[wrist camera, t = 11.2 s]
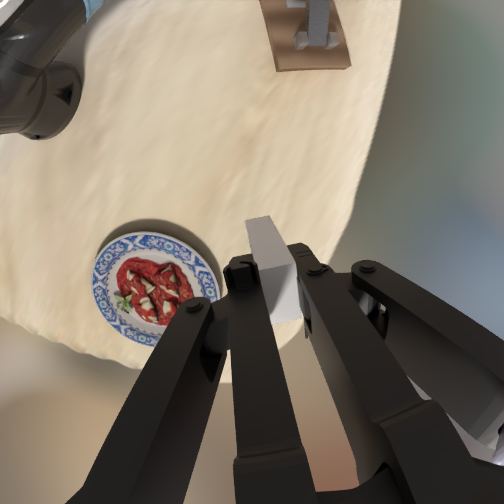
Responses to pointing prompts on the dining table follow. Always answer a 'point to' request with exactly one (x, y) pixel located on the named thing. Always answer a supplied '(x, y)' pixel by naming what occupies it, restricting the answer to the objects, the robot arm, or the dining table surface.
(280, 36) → the base
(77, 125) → the dining table surface
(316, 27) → the lever
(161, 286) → the ceramic plate
